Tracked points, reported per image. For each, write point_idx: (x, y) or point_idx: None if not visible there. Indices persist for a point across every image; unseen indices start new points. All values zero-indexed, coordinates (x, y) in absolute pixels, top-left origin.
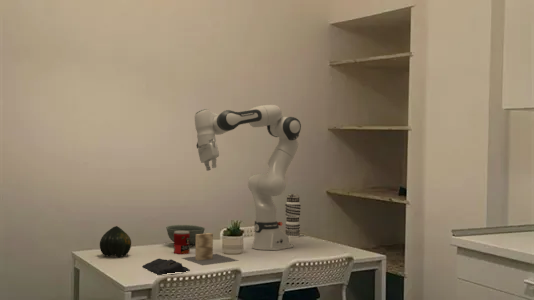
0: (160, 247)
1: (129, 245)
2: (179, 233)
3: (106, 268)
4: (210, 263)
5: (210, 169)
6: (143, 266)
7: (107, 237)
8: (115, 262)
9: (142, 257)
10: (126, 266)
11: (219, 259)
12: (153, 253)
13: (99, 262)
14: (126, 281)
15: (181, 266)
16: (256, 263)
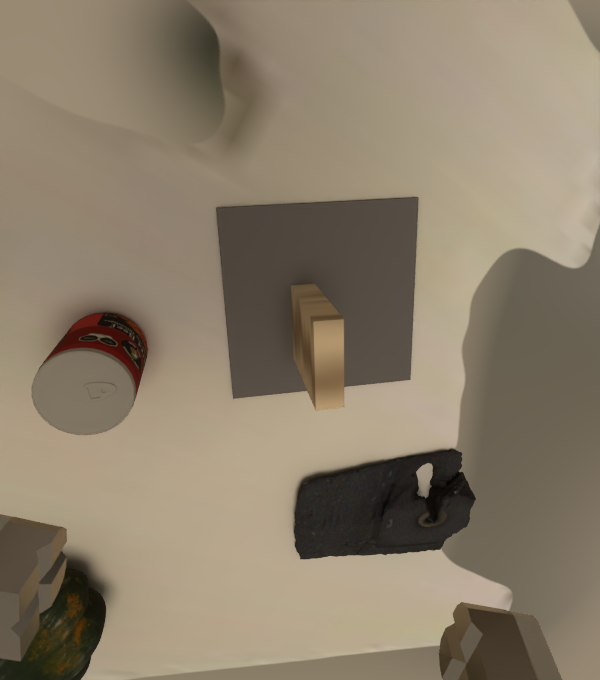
0: None
1: (81, 594)
2: (123, 419)
3: (262, 649)
4: (398, 338)
5: (59, 531)
6: (309, 558)
7: None
8: (178, 614)
9: (125, 517)
10: (264, 596)
11: (348, 265)
12: (49, 455)
13: (152, 654)
14: None
15: (473, 495)
16: (497, 149)
